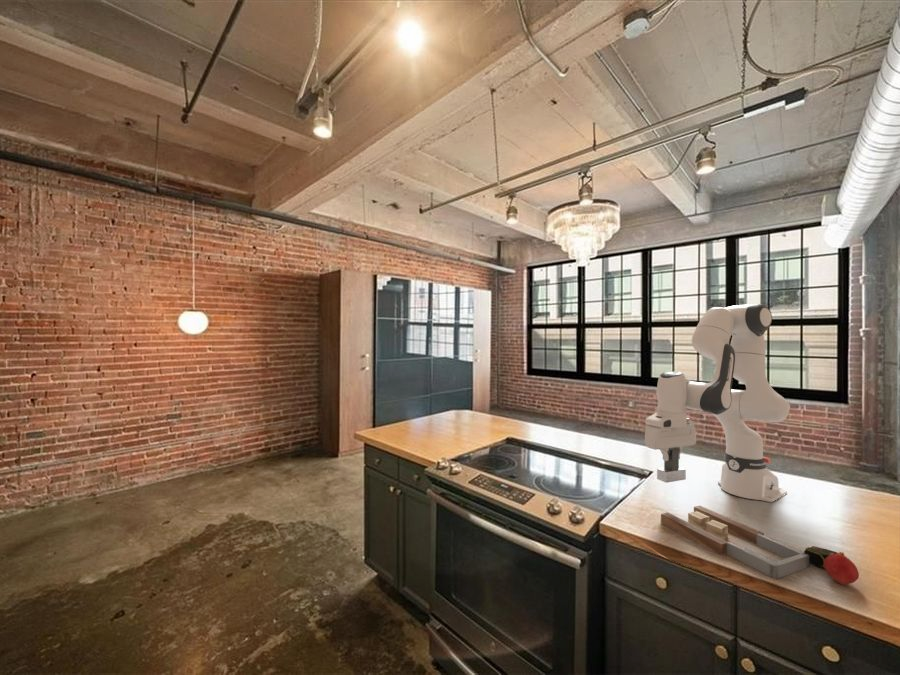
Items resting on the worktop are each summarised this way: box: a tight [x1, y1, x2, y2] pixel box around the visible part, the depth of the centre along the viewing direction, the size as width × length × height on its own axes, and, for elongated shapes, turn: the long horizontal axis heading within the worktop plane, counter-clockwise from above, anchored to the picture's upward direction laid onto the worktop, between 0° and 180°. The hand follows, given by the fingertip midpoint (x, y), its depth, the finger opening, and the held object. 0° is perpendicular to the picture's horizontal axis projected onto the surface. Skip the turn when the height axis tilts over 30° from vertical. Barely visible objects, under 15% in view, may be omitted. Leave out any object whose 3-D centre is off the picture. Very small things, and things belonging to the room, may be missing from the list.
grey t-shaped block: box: [656, 448, 687, 484], centre depth 126 cm, size 9×4×10 cm, turn 110°
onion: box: [823, 551, 860, 586], centre depth 90 cm, size 6×6×8 cm
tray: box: [726, 534, 810, 580], centre depth 99 cm, size 14×12×3 cm
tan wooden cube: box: [687, 511, 709, 531], centre depth 117 cm, size 4×4×4 cm
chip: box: [705, 520, 729, 541], centre depth 111 cm, size 4×4×4 cm
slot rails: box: [660, 505, 765, 556], centre depth 113 cm, size 18×19×3 cm
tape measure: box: [803, 545, 838, 569], centre depth 97 cm, size 7×7×4 cm
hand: (671, 459), depth 126 cm, fingers closed on grey t-shaped block, 3 cm apart
